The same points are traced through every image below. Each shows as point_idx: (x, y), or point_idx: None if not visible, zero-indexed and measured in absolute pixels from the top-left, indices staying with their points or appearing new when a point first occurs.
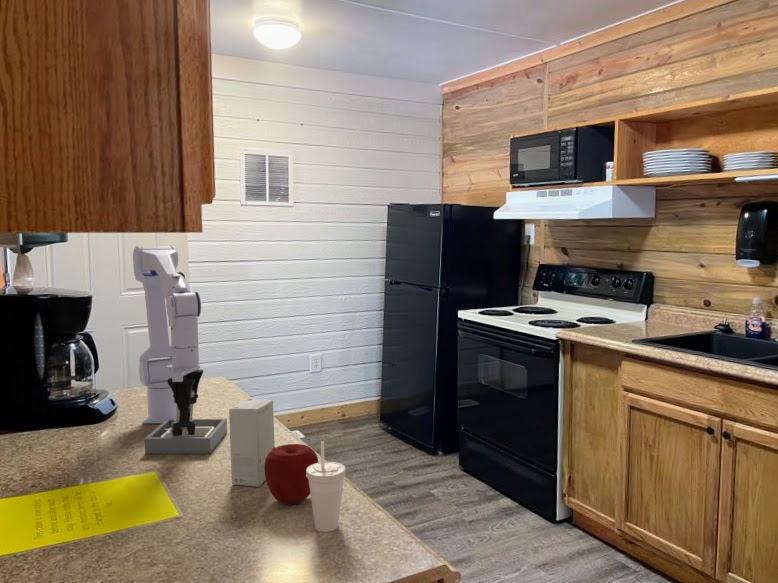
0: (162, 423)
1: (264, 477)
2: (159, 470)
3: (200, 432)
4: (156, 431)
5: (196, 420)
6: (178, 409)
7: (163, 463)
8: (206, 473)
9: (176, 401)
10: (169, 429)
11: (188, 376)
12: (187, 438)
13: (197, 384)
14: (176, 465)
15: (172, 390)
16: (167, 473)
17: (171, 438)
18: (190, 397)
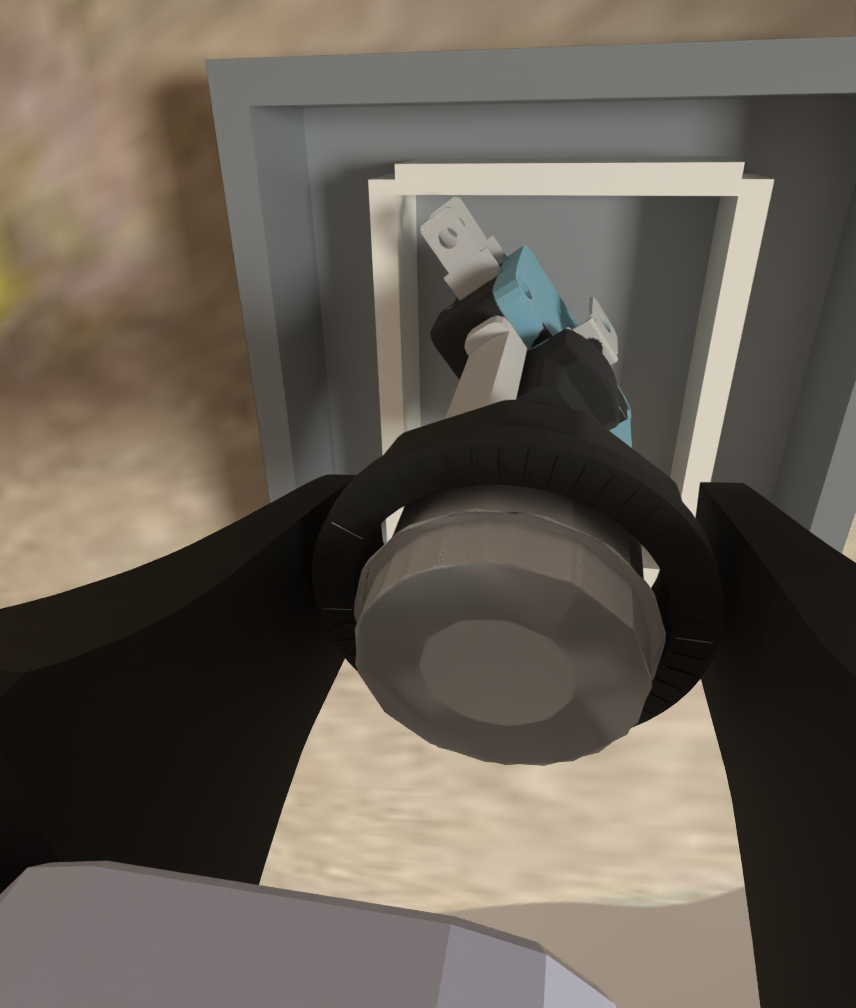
0: (774, 44)
1: None
2: (30, 318)
3: (677, 456)
4: (440, 101)
5: (834, 434)
6: (321, 476)
7: (136, 304)
8: (69, 575)
9: (253, 518)
10: (443, 263)
11: (819, 932)
12: (266, 475)
13: (746, 861)
14: (125, 400)
15: (65, 598)
16: (8, 382)
17: (248, 346)
18: (320, 704)
